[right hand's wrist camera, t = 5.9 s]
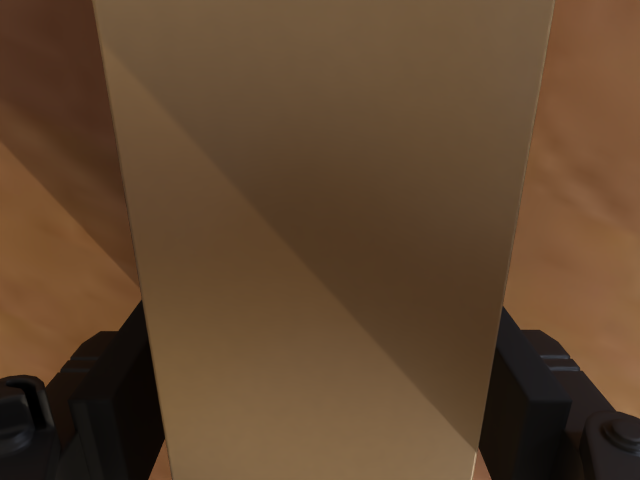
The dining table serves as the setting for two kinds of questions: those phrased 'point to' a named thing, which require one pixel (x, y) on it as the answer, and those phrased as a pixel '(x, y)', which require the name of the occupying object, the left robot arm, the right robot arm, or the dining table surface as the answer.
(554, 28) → the dining table surface
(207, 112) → the beam
